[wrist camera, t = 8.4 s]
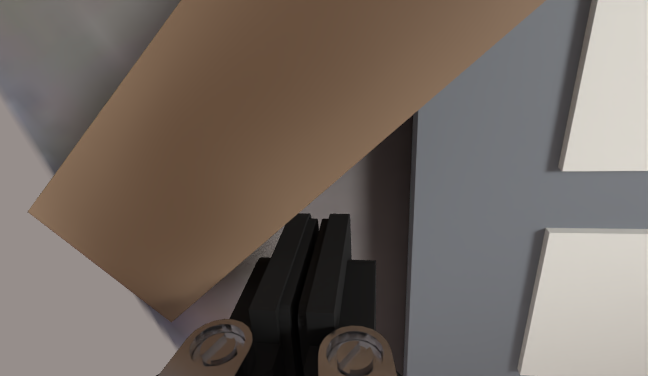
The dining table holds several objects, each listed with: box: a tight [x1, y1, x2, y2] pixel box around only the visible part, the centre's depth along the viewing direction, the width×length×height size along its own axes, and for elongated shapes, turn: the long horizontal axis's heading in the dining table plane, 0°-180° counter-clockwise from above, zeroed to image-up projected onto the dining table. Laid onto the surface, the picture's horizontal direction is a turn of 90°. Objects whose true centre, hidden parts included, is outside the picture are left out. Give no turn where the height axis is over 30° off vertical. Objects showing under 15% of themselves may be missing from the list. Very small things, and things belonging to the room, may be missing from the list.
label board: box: [403, 0, 648, 376], centre depth 12 cm, size 12×22×2 cm, turn 3°
